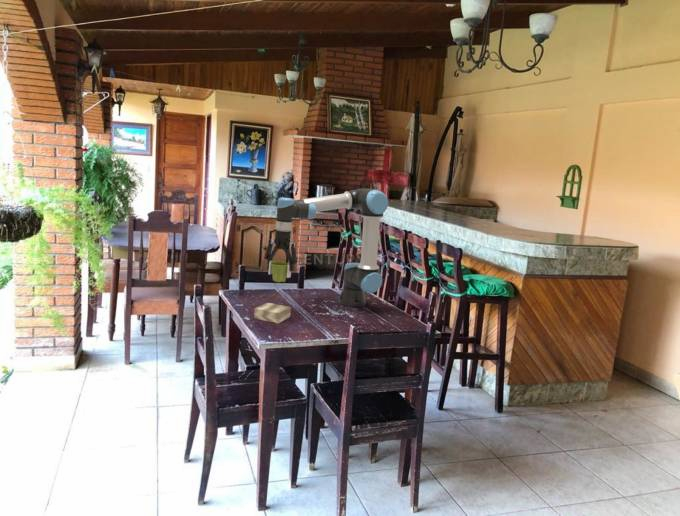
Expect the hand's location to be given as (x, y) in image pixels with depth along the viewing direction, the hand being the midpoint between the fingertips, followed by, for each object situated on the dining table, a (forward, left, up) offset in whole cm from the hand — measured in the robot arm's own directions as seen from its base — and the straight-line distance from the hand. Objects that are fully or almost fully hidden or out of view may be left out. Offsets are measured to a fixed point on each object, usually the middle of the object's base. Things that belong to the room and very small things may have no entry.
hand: (279, 275), depth 257 cm
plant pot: (0, 0, -3) cm, 3 cm away
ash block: (0, +4, -20) cm, 21 cm away
